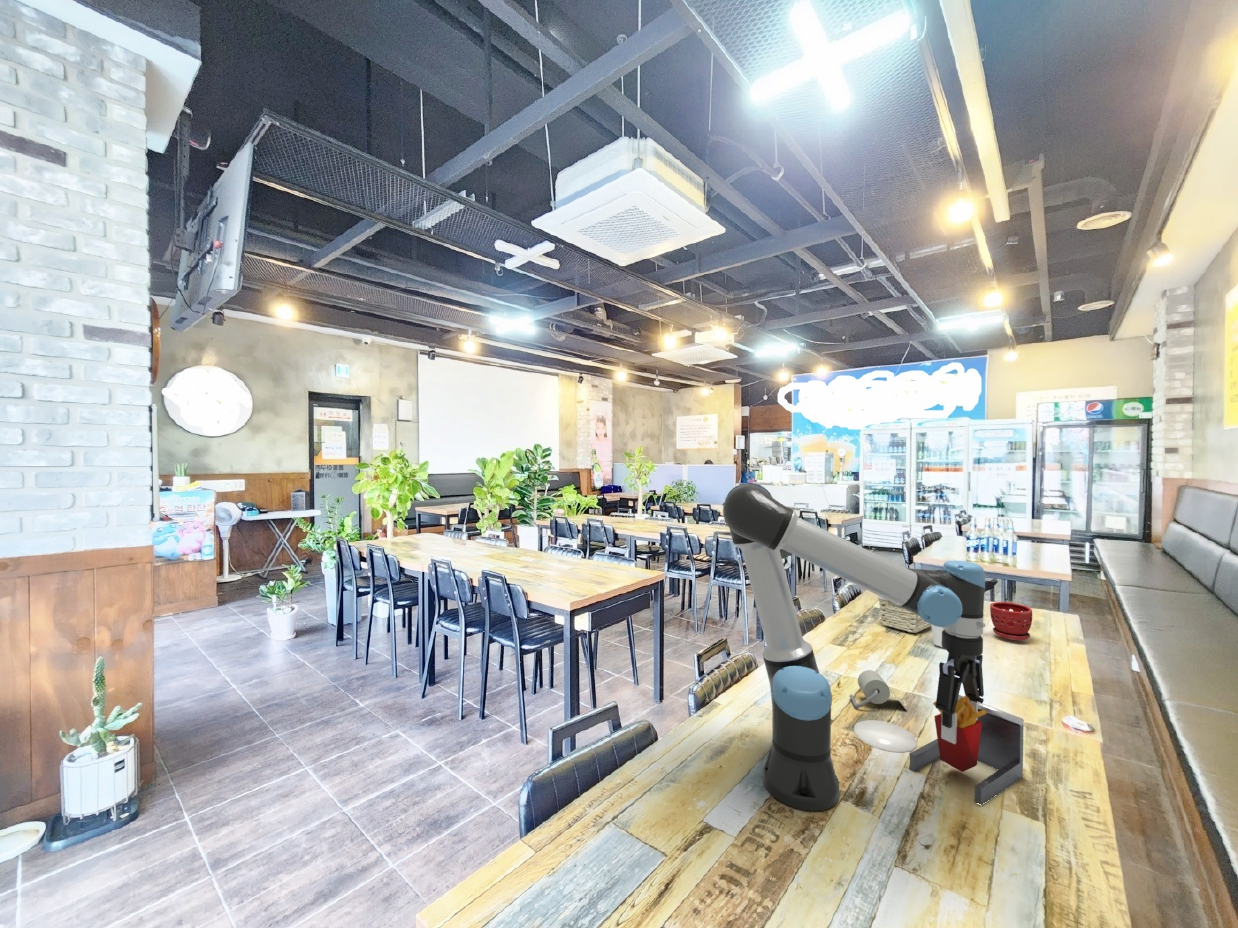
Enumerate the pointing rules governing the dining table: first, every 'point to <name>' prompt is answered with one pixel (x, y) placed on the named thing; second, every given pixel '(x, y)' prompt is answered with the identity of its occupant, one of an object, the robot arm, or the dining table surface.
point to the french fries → (961, 737)
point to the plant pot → (1011, 620)
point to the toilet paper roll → (872, 688)
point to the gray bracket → (988, 752)
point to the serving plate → (885, 736)
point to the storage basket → (900, 617)
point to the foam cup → (937, 635)
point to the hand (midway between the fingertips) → (959, 734)
